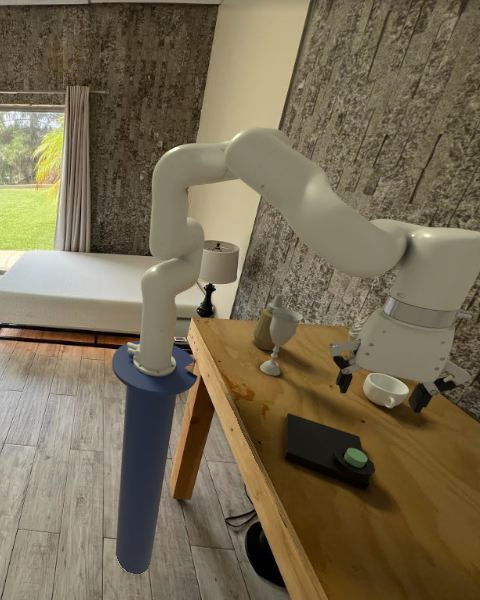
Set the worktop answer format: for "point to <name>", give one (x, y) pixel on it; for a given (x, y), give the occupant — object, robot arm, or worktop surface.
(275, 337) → the chalice
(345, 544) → the worktop surface
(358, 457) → the tare button
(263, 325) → the squeeze bottle
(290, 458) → the scale
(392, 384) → the teacup
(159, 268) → the robot arm
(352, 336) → the ice cream cone
